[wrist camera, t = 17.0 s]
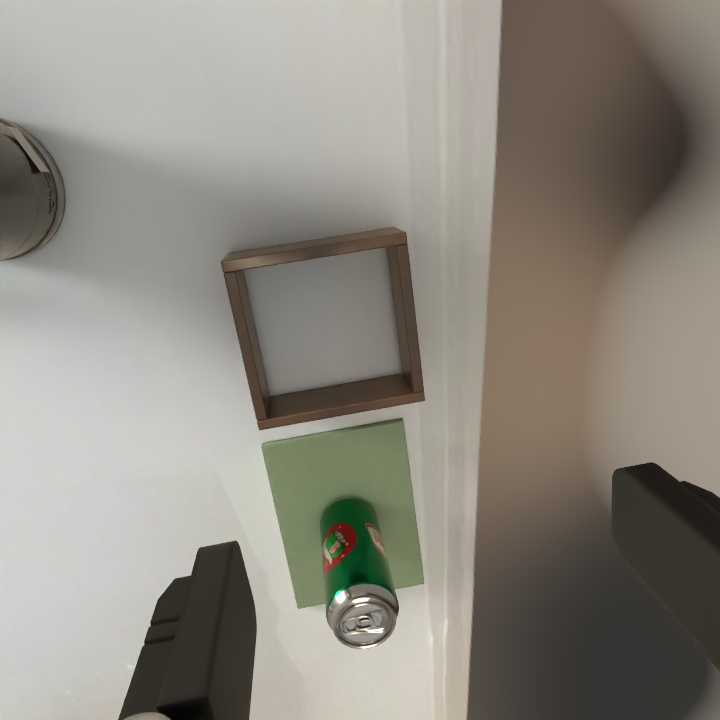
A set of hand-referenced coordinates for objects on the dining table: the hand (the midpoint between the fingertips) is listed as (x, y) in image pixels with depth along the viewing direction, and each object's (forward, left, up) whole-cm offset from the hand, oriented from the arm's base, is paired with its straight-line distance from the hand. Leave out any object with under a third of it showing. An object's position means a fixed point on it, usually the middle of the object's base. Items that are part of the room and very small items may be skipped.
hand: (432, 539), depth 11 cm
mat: (-2, -21, -32) cm, 38 cm away
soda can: (-2, -21, -32) cm, 38 cm away
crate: (-1, -3, -32) cm, 32 cm away
